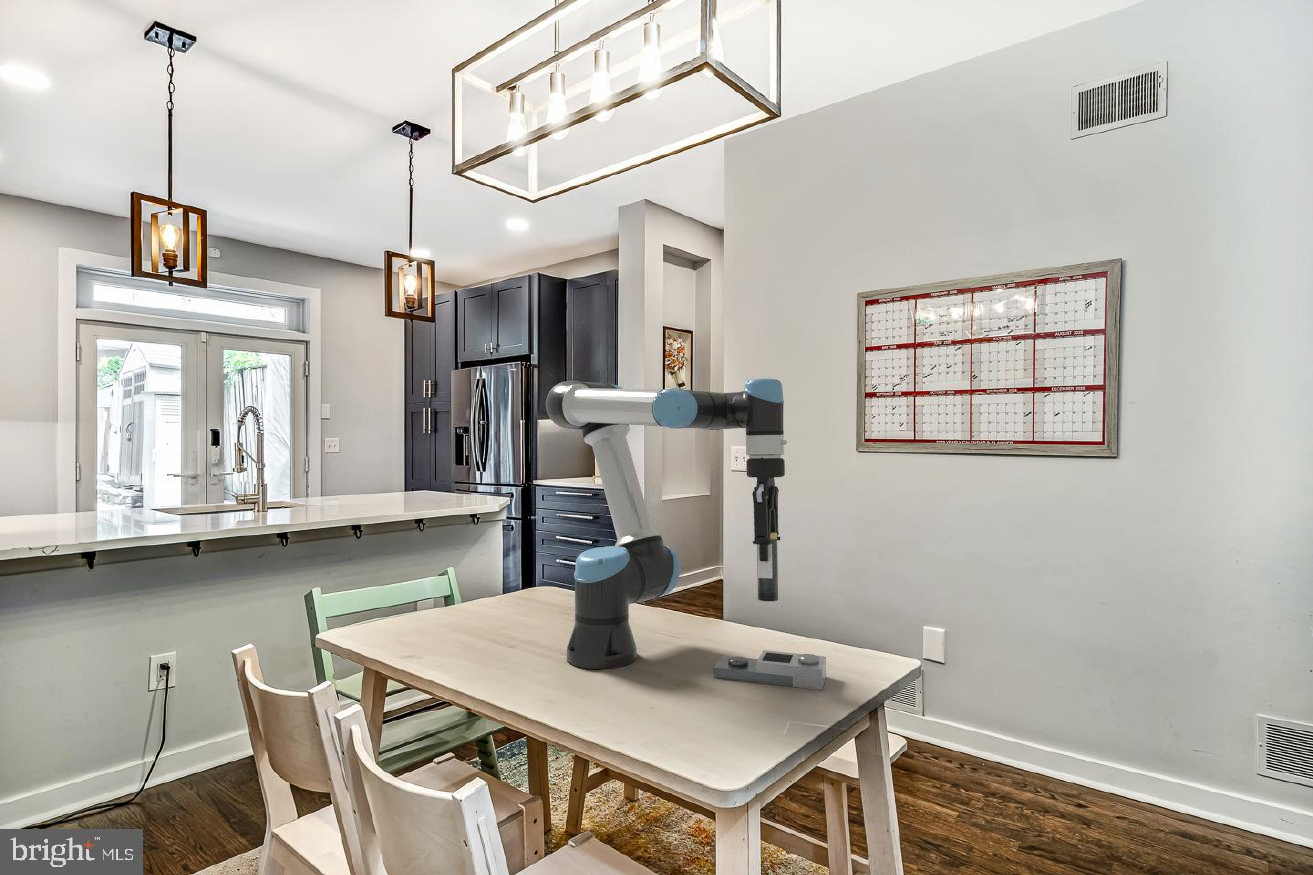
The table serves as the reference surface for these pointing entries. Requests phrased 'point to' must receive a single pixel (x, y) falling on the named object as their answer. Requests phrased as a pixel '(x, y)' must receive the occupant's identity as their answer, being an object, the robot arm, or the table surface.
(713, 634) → the table surface
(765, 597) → the pin
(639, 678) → the table surface
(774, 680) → the metal block with stud
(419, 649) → the table surface
